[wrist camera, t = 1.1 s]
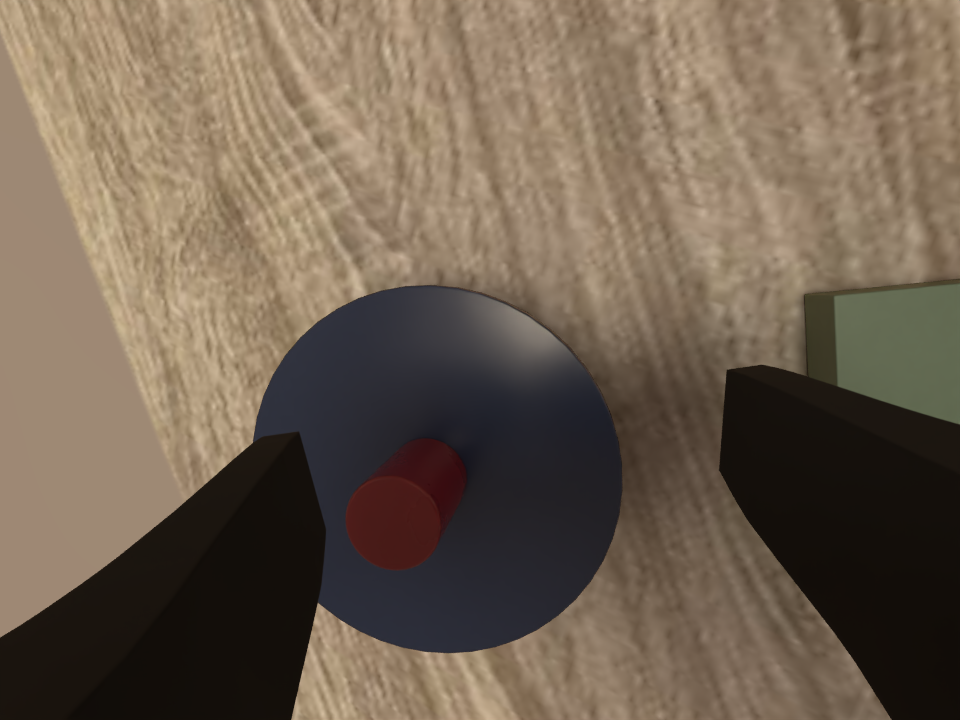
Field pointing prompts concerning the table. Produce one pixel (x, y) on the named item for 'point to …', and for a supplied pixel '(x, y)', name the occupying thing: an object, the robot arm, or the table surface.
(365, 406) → the lid
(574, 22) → the table surface
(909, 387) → the sill
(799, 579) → the robot arm
